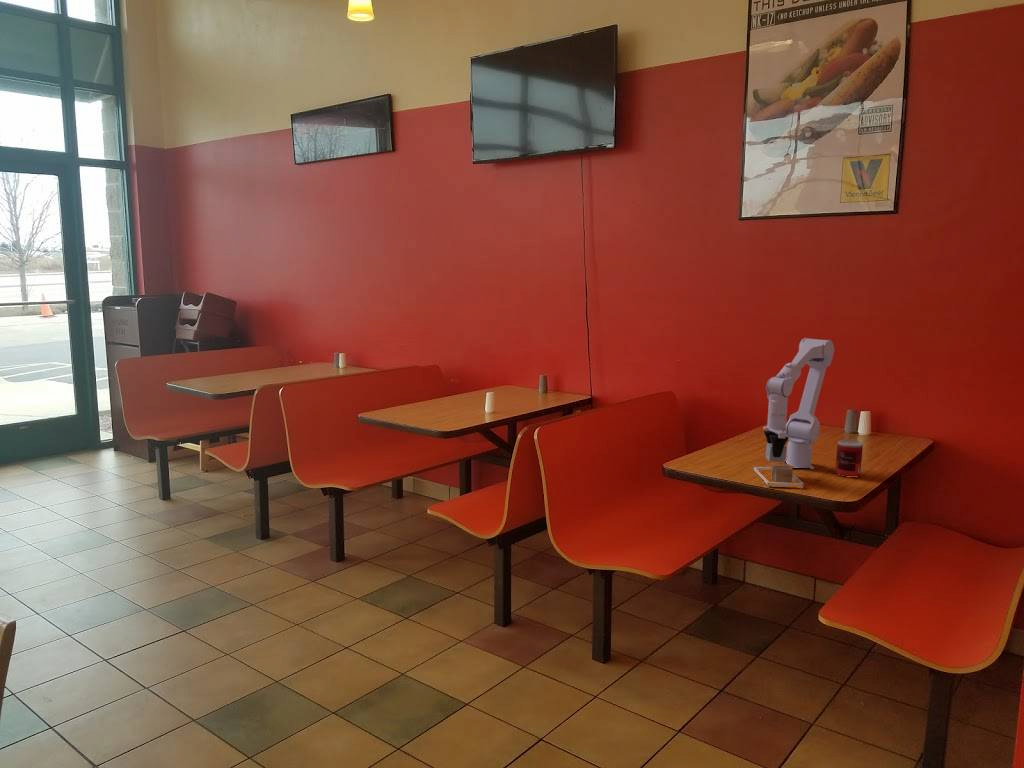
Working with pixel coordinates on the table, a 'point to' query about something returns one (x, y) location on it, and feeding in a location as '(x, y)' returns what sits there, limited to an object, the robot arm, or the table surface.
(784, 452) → the slate-blue block
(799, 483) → the white flat frame
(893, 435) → the table surface
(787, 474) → the translucent beige cube
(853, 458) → the canned food
